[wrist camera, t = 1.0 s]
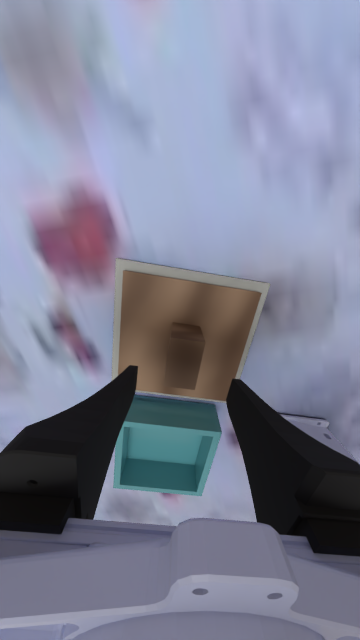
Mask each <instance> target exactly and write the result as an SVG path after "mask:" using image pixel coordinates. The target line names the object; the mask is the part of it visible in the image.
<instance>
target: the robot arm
mask: <svg viewBox="0 0 360 640" xmlns="http://www.w3.org/2000/svg"><path fill="white" fill-rule="evenodd" d="M137 374H138V366H134V365H129V366H128V367H127V368H126V369H125V370H124V371H123V372H122V373H121V374H119V375H118V376H117V377H116V378H115V379H114V380H112V381H111V382H110V383H109V384H107V385H106V386H105V387H104V388H102V389H101V390H99V391H98V392H97V393H95V394H94V395H92V396H91V397H89V398H87V399H86V400H84V401H82V402H80V403H79V404H77V405H75V406H73V407H71V408H69V409H67V410H65V411H63V412H61V413H59V414H56V415H54V416H52V417H50V418H47V419H45V420H42V421H39V422H37V423H34V424H32V425H29V426H26V427H25V428H24V429H23V430H22V431H21V432H20V433H19V434H18V435H17V436H16V437H15V438H14V439H13V440H12V441H11V442H10V443H9V444H8V445H7V446H6V447H5V449H4V450H3V451H2V452H1V453H0V640H360V464H359V463H358V462H357V460H356V459H355V458H354V457H353V456H352V455H351V454H350V453H349V452H348V451H347V449H346V448H345V447H344V446H343V445H342V444H341V443H340V442H339V441H338V440H337V438H336V437H335V436H334V435H333V434H332V433H331V432H330V431H329V430H328V429H327V427H328V425H329V422H328V421H327V420H323V419H315V418H307V417H299V416H290V415H282V414H278V413H277V412H276V411H275V410H273V409H272V408H271V407H270V406H269V405H268V404H266V403H265V402H264V401H263V400H262V399H261V398H260V397H259V396H258V395H257V394H255V393H254V392H253V391H252V390H251V389H250V388H249V387H248V386H247V385H246V384H245V383H244V382H243V381H241V380H240V379H233V378H232V381H231V385H230V388H229V391H228V394H227V398H226V403H227V408H228V412H229V416H230V419H231V422H232V425H233V427H234V430H235V433H236V436H237V439H238V442H239V445H240V448H241V451H242V455H243V459H244V463H245V467H246V471H247V475H248V480H249V484H250V489H251V493H252V498H253V503H254V508H255V513H256V519H257V522H246V521H234V520H222V519H210V518H194V519H188V520H186V521H183V522H181V523H179V525H178V526H165V525H152V524H140V523H127V522H115V521H102V520H93V518H94V515H95V511H96V508H97V504H98V501H99V497H100V494H101V490H102V487H103V484H104V480H105V477H106V474H107V470H108V467H109V464H110V460H111V457H112V454H113V451H114V448H115V445H116V441H117V438H118V436H119V433H120V431H121V428H122V426H123V423H124V421H125V418H126V416H127V414H128V411H129V409H130V406H131V404H132V401H133V398H134V394H135V391H136V385H137Z"/></svg>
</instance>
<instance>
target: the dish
mask: <svg viewBox="0 0 360 640" xmlns="http://www.w3.org/2000/svg"><path fill="white" fill-rule="evenodd" d="M221 433H222V431H221V427H220V423H219V420H218V416H217V412H216V408H215V405H212V404H204V403H196V402H188V401H180V400H172V399H164V398H156V397H148V396H139V395H134V398H133V401H132V404H131V406H130V409H129V411H128V414H127V416H126V418H125V421H124V423H123V426H122V428H121V431H120V433H119V436H118V438H117V441H116V448H115V467H114V486H113V488H119V489H130V490H141V491H152V492H162V493H173V494H184V495H194V496H202V493H203V490H204V486H205V483H206V480H207V477H208V474H209V471H210V468H211V465H212V462H213V458H214V455H215V452H216V449H217V446H218V443H219V440H220V437H221Z"/></svg>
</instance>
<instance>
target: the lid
mask: <svg viewBox="0 0 360 640" xmlns="http://www.w3.org/2000/svg"><path fill="white" fill-rule="evenodd" d="M261 294H262V293H260V292H256V291H250V290H244V289H238V288H232V287H226V286H219V285H213V284H207V283H201V282H195V281H189V280H182V279H176V278H170V277H164V276H158V275H152V274H145V273H139V272H133V271H127V270H123V280H122V301H121V321H120V342H119V362H118V375H119V374H121V373H122V372H123V371H124V370H125V369H126V368H127V367H128V366H129V365H134V366H138V374H137V385H136V390H139V391H147V392H155V393H163V394H171V395H179V396H187V397H195V398H203V399H211V400H219V401H226V398H227V394H228V391H229V388H230V385H231V381H232V378H233V379H235V377H236V374H237V371H238V368H239V365H240V361H241V358H242V355H243V352H244V349H245V345H246V342H247V339H248V336H249V332H250V329H251V326H252V323H253V320H254V316H255V313H256V310H257V307H258V304H259V300H260V297H261Z"/></svg>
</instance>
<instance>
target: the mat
mask: <svg viewBox="0 0 360 640" xmlns="http://www.w3.org/2000/svg"><path fill="white" fill-rule="evenodd" d="M123 270H127V271H133V272H139V273H145V274H152V275H158V276H164V277H170V278H176V279H182V280H189V281H195V282H201V283H207V284H213V285H219V286H226V287H232V288H238V289H244V290H250V291H256V292H260V293H262V294H261V297H260V300H259V304H258V307H257V310H256V313H255V316H254V320H253V323H252V326H251V329H250V332H249V336H248V339H247V342H246V345H245V349H244V352H243V355H242V358H241V361H240V365H239V368H238V371H237V374H236V377H235V379H240V376H241V373H242V370H243V367H244V364H245V361H246V358H247V355H248V352H249V348H250V345H251V342H252V339H253V336H254V333H255V330H256V327H257V324H258V321H259V317H260V314H261V311H262V308H263V305H264V302H265V299H266V296H267V293H268V290H269V286H270V284H269V283H263V282H257V281H251V280H245V279H239V278H233V277H227V276H221V275H215V274H208V273H202V272H196V271H190V270H184V269H178V268H172V267H166V266H160V265H154V264H148V263H142V262H136V261H130V260H124V259H118V258H116V272H115V300H114V328H113V357H112V380H114V379H115V378H116V377H117V376H118V362H119V342H120V321H121V301H122V280H123ZM135 392H141V393H149V394H157V395H165V396H173V397H181V398H190V399H198V400H206V401H214V402H222V403H226V401H219V400H211V399H203V398H195V397H187V396H179V395H171V394H163V393H155V392H147V391H139V390H136V391H135Z"/></svg>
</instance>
